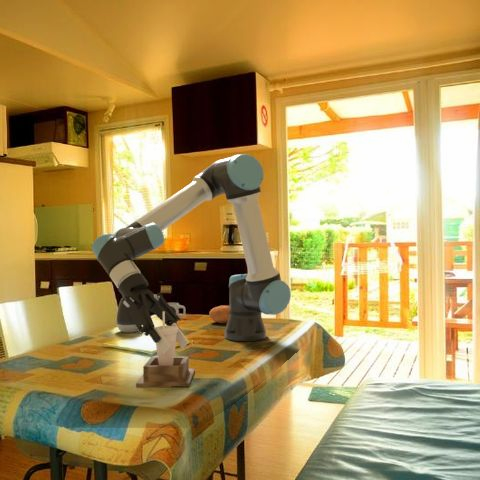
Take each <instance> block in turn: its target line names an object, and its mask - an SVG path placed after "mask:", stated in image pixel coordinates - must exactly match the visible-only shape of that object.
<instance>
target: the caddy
mask: <svg viewBox="0 0 480 480" xmlns="http://www.w3.org/2000/svg"><path fill="white" fill-rule="evenodd" d="M189 359H190V358H189V356H174V362H173V366H159V364H158V356H156V355H155V356H153V355H152V356H151V357H150V358H149V359H148V360H147V362H146V363H145V364H144V365H143V373H142V375H141V376H140V378H139V379H138V380H137V382H136V383H135V387H137V388H142V387H143V388H146V387H147V388H148V387H149V388H151V387H152V388H160V387H161V388H167V387H168V388H172V387H171V386H189V387H190V385H189V384H191V382H192V380H193V377H194V374H195V372H196V369H195V368H190V367H189V362H190V361H189Z"/></svg>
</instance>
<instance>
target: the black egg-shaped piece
mask: <svg viewBox="0 0 480 480" xmlns="http://www.w3.org/2000/svg"><path fill="white" fill-rule="evenodd" d="M124 300H125V298H124V297H123V296H122V298H121V299H120V301H119V304H118V308H117V311H116V319H115V323H116V325H117V328H118V330H119V331H120V332H121V333H124V334H125V333H126V334H129V333H130V334H131V333H136V332H139V330H138V328H137V326H136V325H135V323H134V321H133V320H132V318H131V316H130V315H129V313H128V311H127V310H126V309H125V308H124V307H123V306H122V303H123V302H124Z"/></svg>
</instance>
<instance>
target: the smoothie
mask: <svg viewBox="0 0 480 480" xmlns="http://www.w3.org/2000/svg"><path fill="white" fill-rule="evenodd" d="M156 327H158V328H159V329H160V331H161V332H162V334H163V335H164V337H165V338H166V339H167V341H168V342H169V344H170V345H171V347H172V348H171V349H170V350H169V351H168V352H167V354H165V355H164V354H163V352H162V351H161V349H160V348H159V346H158V345H157V343H155V347H156V354H157V357H158V364H159V366H173V362H174V357H175V354H176V353H175V352H176V343H177V342H176V337H177V332H178V327H175V326H167V325H166V324H165V311H163V321H162V325H158V326H156ZM156 327H155V328H156ZM155 328H154V329H155Z"/></svg>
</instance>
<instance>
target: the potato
mask: <svg viewBox="0 0 480 480" xmlns="http://www.w3.org/2000/svg"><path fill="white" fill-rule="evenodd" d="M208 315H209V317H210V319H211V320H212V321H213V322H216V323H219V324H227V323H228V319H229V315H230V310H229V305H219V306H215V307H213V308H212V309H210V311H209V314H208Z"/></svg>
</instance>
